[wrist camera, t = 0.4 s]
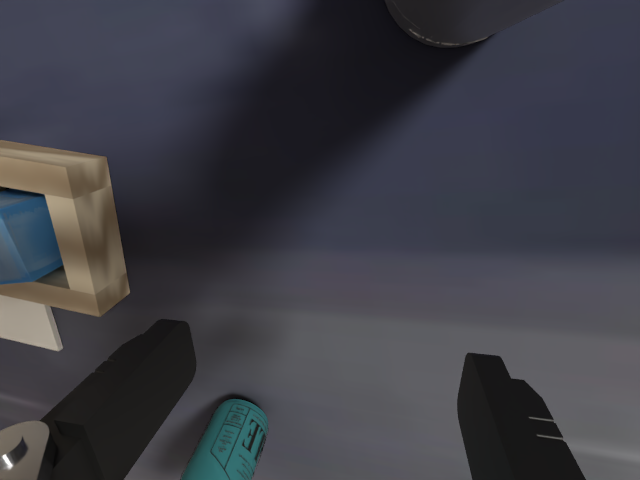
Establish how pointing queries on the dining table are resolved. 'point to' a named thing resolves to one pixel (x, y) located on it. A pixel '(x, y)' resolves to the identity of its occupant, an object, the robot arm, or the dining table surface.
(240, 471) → the beverage bottle
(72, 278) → the pocket block
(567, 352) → the dining table surface
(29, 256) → the perfume bottle
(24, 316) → the coaster
